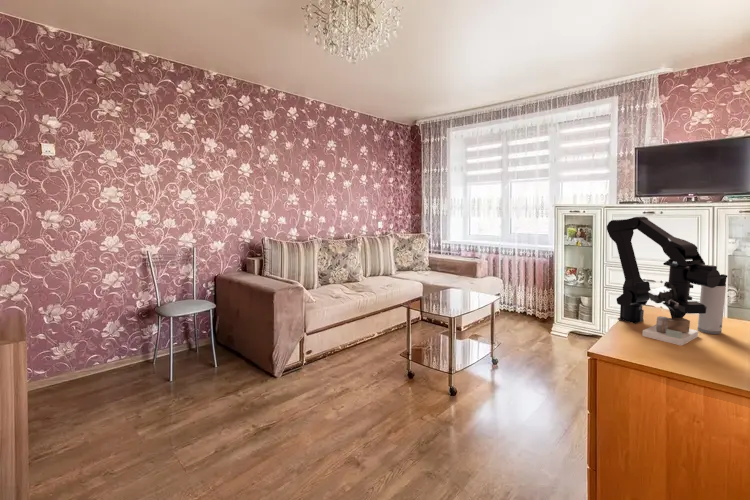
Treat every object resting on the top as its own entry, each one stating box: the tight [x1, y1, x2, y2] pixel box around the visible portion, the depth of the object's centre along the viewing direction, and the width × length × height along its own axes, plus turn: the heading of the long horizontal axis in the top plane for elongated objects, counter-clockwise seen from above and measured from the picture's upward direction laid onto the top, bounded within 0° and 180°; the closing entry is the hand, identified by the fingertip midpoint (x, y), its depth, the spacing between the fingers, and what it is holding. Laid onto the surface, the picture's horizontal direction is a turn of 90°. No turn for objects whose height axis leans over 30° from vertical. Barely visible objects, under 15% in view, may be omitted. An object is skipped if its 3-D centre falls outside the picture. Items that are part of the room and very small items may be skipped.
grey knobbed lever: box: [655, 315, 691, 333], centre depth 127 cm, size 9×3×5 cm, turn 87°
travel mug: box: [697, 273, 728, 335], centre depth 131 cm, size 6×7×20 cm
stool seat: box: [641, 324, 699, 346], centre depth 129 cm, size 11×14×4 cm
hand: (675, 324), depth 130 cm, fingers closed
